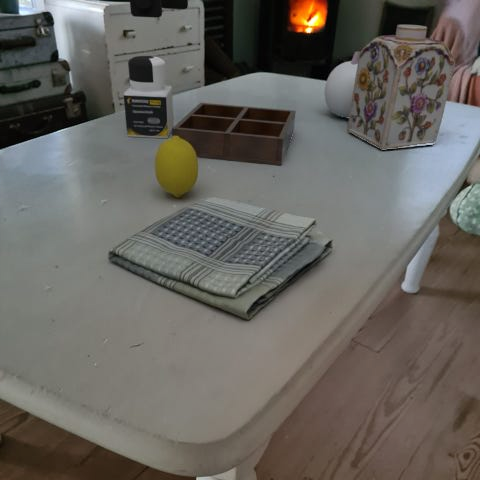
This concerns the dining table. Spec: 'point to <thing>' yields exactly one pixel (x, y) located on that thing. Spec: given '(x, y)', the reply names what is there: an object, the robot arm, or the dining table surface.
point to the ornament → (341, 87)
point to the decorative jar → (401, 89)
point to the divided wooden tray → (237, 132)
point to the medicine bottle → (148, 99)
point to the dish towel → (224, 253)
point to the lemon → (176, 166)
